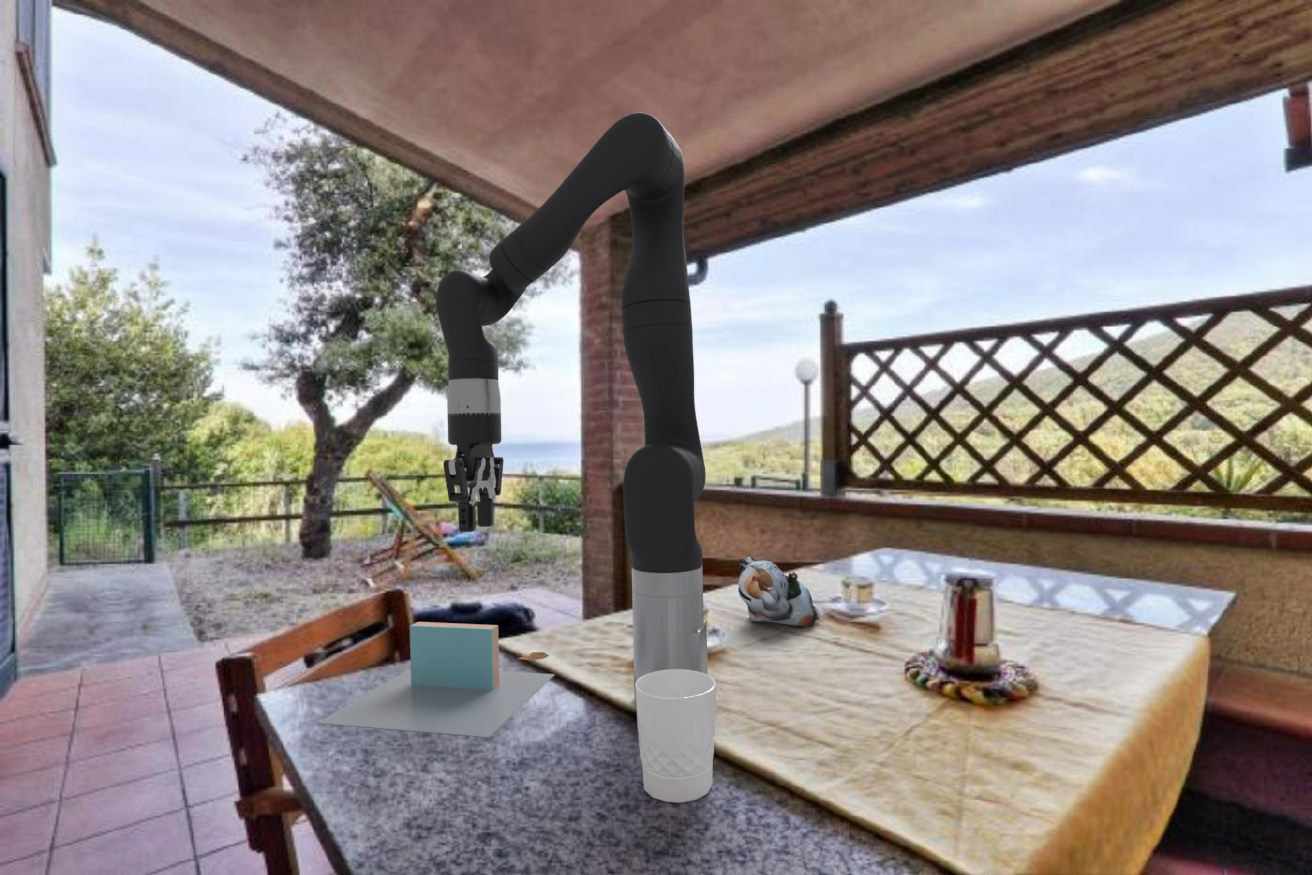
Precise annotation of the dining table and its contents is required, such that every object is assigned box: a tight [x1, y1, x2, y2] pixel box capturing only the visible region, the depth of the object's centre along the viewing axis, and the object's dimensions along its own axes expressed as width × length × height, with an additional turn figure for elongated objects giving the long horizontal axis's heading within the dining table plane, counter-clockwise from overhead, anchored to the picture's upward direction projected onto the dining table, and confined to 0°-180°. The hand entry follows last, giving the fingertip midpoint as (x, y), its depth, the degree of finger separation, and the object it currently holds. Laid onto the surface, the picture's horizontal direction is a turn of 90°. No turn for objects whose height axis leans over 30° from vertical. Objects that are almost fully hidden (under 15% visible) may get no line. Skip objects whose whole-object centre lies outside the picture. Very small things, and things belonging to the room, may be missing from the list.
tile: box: [409, 621, 500, 690], centre depth 90 cm, size 12×2×8 cm, turn 77°
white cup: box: [635, 669, 717, 804], centre depth 65 cm, size 8×8×10 cm
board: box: [317, 667, 556, 738], centre depth 86 cm, size 22×20×1 cm
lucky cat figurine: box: [737, 556, 822, 629], centre depth 122 cm, size 15×12×14 cm
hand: (476, 528), depth 97 cm, fingers open, 5 cm apart
